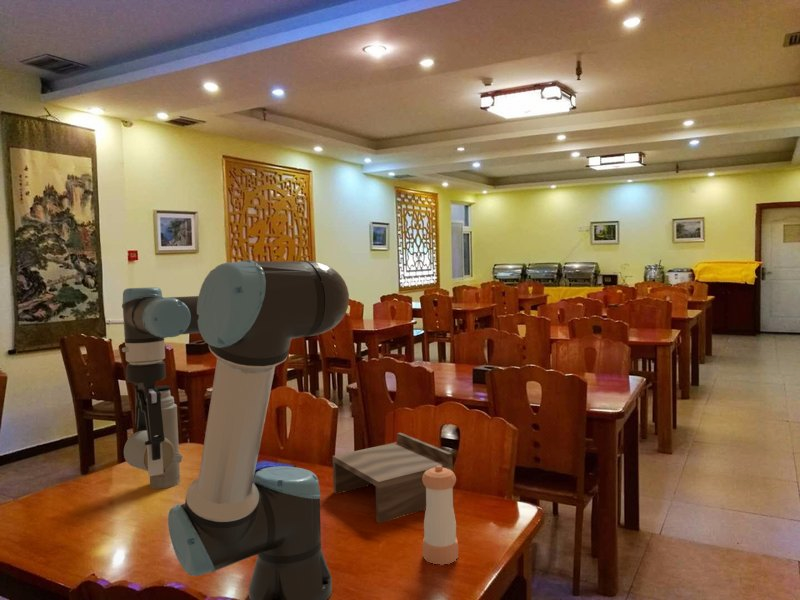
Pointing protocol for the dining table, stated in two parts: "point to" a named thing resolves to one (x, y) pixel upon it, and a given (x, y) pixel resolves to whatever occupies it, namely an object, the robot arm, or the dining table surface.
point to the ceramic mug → (138, 451)
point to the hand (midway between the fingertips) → (150, 468)
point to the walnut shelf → (391, 474)
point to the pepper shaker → (439, 517)
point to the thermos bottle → (171, 433)
